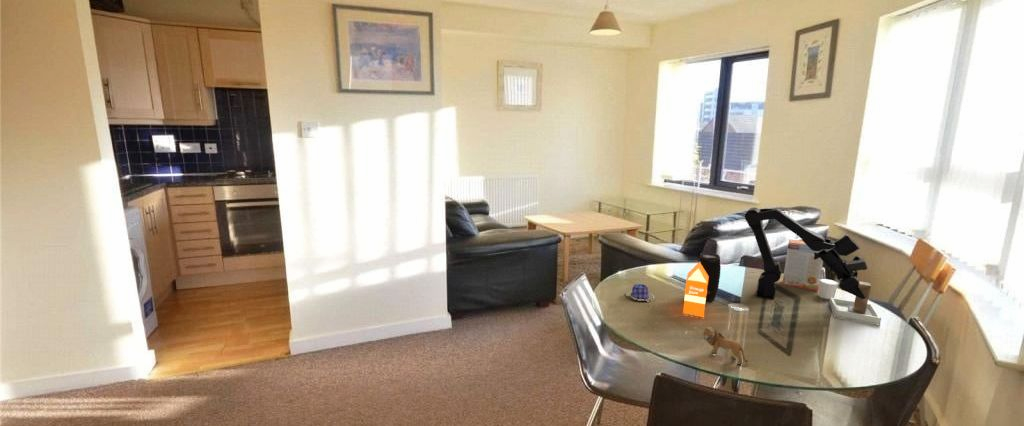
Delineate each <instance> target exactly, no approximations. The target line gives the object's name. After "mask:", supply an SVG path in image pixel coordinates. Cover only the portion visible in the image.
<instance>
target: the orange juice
mask: <svg viewBox="0 0 1024 426" xmlns="http://www.w3.org/2000/svg"><path fill="white" fill-rule="evenodd" d="M686 276H687V277H686V281H685V292H684V301H683V309H682V310H683V311H682V314H683V313H685V314H690V315H695V316H700V317H703V318H705V310H706V309H705V307H706V301H707V300H706V294H707V285H708V278H709V276H708V275H707V273H706V271H705V270H704V268H703V266H702V265H701V263H700V262H699V263H698V262H697V263H696V264H695V265H694V266H693V268H691V269H690V270H689V271H688V273H687V275H686Z"/></svg>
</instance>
